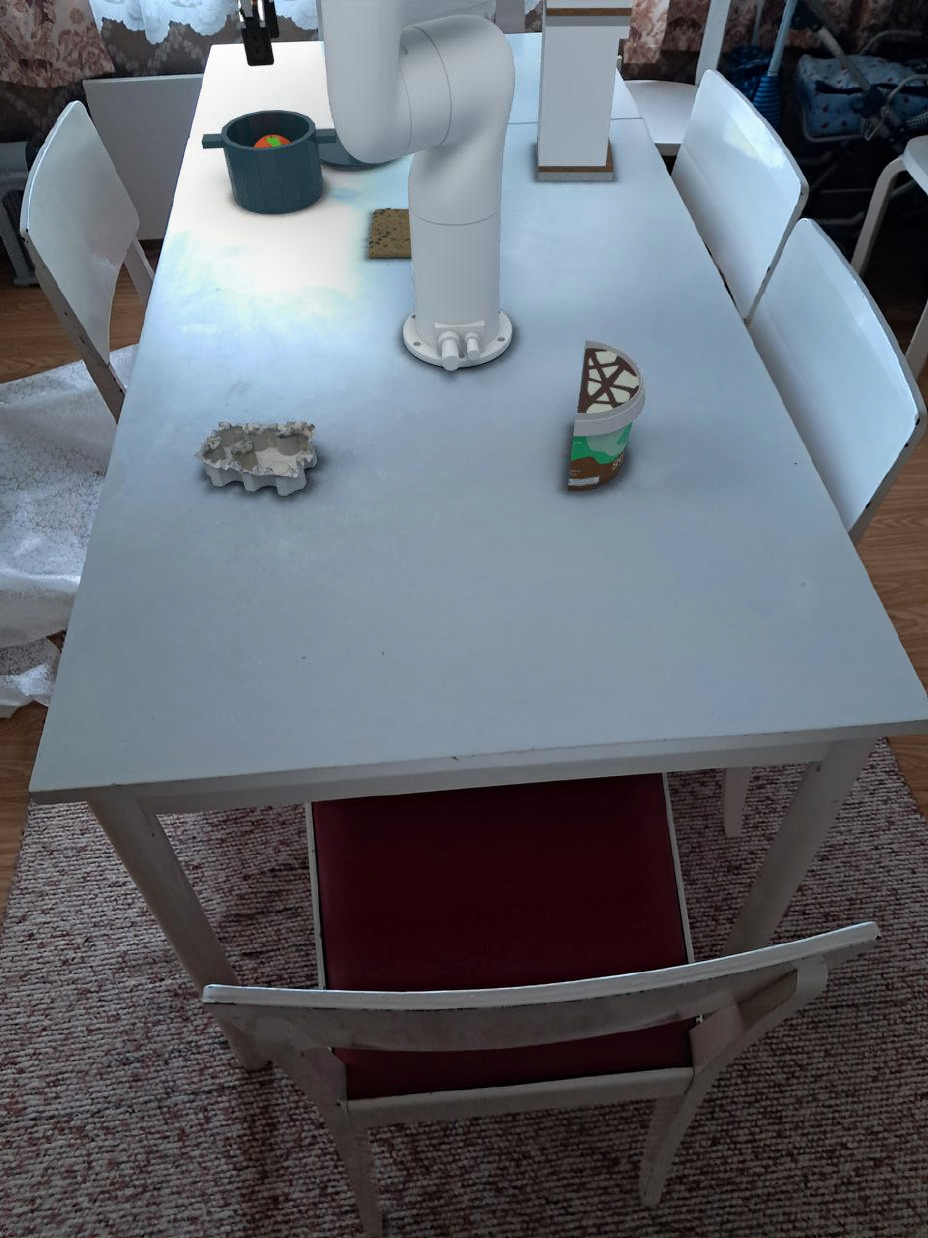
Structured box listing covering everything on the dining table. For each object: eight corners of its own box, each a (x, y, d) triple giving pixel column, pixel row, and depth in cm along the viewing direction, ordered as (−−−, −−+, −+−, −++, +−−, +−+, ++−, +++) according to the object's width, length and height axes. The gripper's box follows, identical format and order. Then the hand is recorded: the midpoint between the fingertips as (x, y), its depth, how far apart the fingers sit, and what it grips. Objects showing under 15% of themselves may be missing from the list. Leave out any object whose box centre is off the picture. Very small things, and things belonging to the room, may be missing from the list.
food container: (630, 507, 83) (646, 423, 75) (566, 500, 83) (575, 417, 76) (635, 425, 90) (650, 341, 83) (576, 420, 91) (585, 336, 83)
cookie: (367, 257, 112) (366, 250, 111) (374, 212, 119) (373, 205, 119) (460, 257, 112) (460, 249, 111) (461, 211, 119) (461, 204, 119)
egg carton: (325, 454, 88) (320, 422, 85) (297, 504, 84) (290, 472, 81) (229, 436, 90) (220, 404, 87) (196, 484, 86) (186, 452, 82)
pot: (341, 210, 120) (333, 146, 114) (211, 216, 120) (195, 152, 113) (343, 169, 128) (335, 106, 121) (220, 175, 127) (206, 112, 121)
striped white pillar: (612, 180, 125) (649, -138, 97) (537, 180, 125) (554, -137, 98) (606, 145, 132) (639, -160, 104) (536, 145, 132) (551, -159, 105)
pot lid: (402, 169, 128) (399, 121, 122) (310, 174, 127) (302, 126, 122) (400, 130, 136) (397, 84, 131) (313, 134, 136) (306, 87, 131)
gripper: (260, -113, 89) (290, 74, 103) (272, -146, 101) (298, 26, 114) (187, -109, 89) (227, 77, 102) (207, -143, 100) (240, 29, 113)
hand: (264, 50), depth 108 cm, fingers open, 9 cm apart
